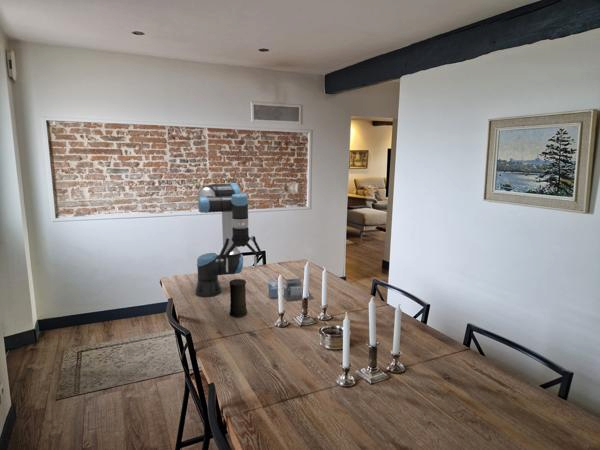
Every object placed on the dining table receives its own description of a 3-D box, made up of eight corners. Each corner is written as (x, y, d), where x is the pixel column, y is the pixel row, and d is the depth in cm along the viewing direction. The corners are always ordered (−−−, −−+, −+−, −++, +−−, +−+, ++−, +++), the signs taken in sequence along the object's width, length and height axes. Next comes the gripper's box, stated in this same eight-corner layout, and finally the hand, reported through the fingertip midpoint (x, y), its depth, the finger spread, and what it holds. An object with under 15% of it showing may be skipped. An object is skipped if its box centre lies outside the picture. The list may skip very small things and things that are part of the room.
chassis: (279, 289, 241) (279, 277, 240) (304, 287, 245) (304, 275, 244) (287, 301, 222) (286, 289, 221) (313, 298, 227) (314, 286, 225)
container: (248, 311, 209) (248, 278, 205) (244, 318, 200) (244, 284, 197) (232, 310, 210) (231, 278, 206) (227, 317, 201) (226, 284, 198)
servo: (268, 294, 234) (267, 279, 232) (274, 293, 235) (274, 279, 233) (271, 299, 225) (271, 284, 224) (277, 298, 226) (277, 284, 225)
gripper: (213, 229, 178) (215, 274, 182) (268, 227, 184) (268, 270, 188) (212, 226, 185) (214, 270, 189) (265, 224, 191) (265, 266, 196)
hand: (241, 270), depth 189 cm, fingers open, 13 cm apart
